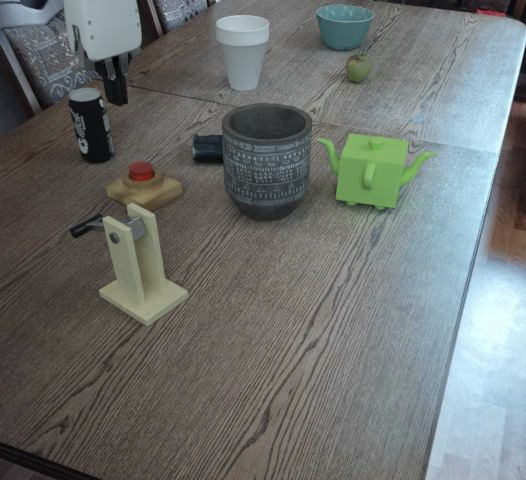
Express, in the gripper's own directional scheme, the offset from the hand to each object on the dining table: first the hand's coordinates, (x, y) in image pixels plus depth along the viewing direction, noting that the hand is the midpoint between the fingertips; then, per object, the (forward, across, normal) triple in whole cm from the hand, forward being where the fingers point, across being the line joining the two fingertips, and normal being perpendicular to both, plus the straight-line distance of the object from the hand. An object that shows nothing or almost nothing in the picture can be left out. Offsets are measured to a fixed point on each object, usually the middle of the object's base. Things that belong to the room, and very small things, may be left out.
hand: (117, 102), depth 85 cm
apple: (+15, -73, 0) cm, 75 cm away
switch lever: (+8, +17, +17) cm, 25 cm away
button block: (+17, -2, +1) cm, 17 cm away
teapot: (+16, -27, +32) cm, 45 cm away
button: (+13, -2, +1) cm, 13 cm away
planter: (+16, -13, +20) cm, 29 cm away
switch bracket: (+17, +17, +22) cm, 32 cm away
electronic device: (+16, -23, +3) cm, 29 cm away
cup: (+16, -52, -19) cm, 58 cm away
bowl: (+15, -92, -17) cm, 95 cm away
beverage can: (+17, -6, -17) cm, 25 cm away
